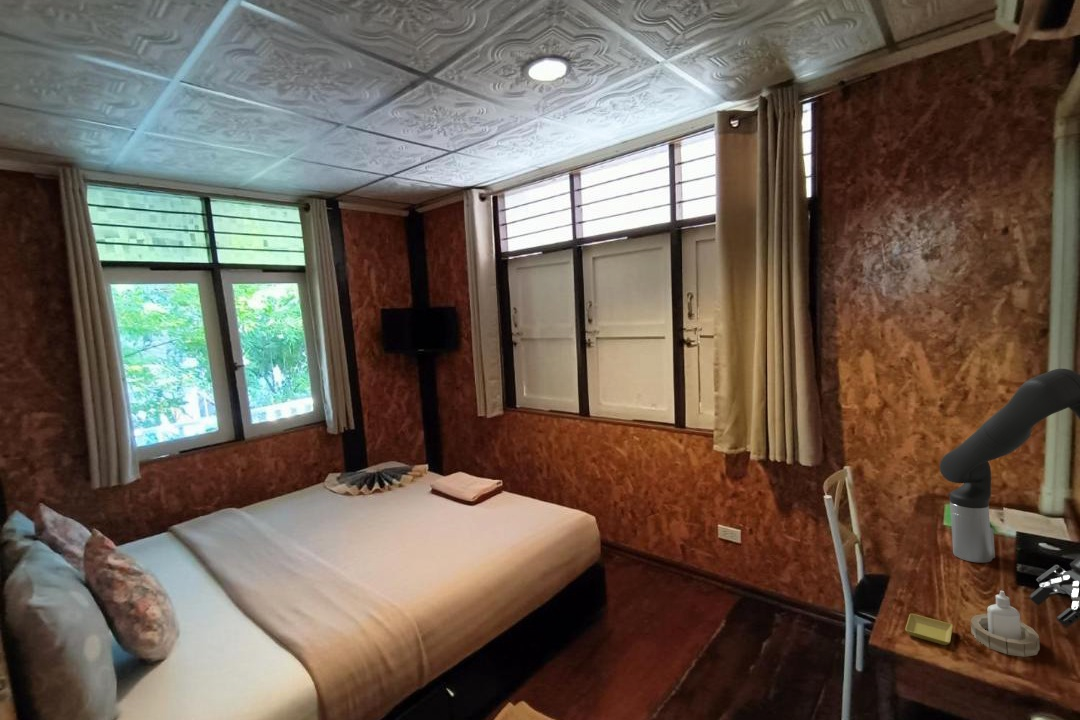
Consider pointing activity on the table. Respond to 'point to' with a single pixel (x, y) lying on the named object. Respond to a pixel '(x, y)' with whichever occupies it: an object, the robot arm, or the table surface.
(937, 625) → the yellow square tray
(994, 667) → the table surface
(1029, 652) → the birch ring collar
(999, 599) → the eye dropper bottle
